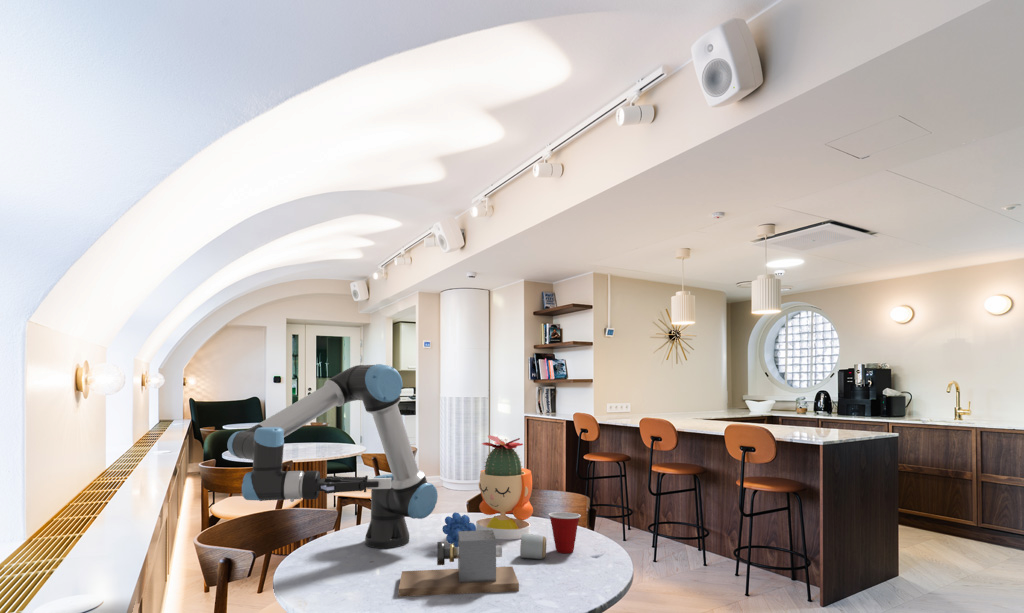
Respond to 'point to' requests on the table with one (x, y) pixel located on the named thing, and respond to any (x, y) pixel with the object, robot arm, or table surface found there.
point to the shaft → (454, 552)
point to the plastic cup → (564, 530)
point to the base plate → (453, 582)
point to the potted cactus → (505, 492)
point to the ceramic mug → (533, 546)
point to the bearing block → (477, 556)
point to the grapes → (456, 527)
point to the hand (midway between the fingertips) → (391, 483)
